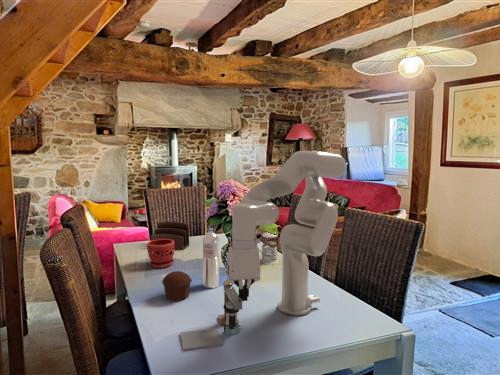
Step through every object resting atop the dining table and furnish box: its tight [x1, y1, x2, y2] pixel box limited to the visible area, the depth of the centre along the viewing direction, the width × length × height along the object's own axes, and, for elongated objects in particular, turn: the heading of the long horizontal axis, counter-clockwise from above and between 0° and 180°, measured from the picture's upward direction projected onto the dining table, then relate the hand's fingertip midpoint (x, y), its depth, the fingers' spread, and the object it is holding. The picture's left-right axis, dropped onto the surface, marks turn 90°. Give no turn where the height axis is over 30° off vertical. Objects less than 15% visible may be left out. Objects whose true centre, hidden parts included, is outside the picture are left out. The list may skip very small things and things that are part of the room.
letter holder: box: [150, 221, 190, 251], centre depth 222 cm, size 10×20×14 cm, turn 78°
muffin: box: [162, 270, 193, 302], centre depth 152 cm, size 12×11×10 cm
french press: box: [258, 231, 280, 265], centre depth 196 cm, size 10×12×25 cm
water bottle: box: [202, 227, 220, 289], centre depth 163 cm, size 7×7×25 cm
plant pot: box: [146, 239, 175, 269], centre depth 190 cm, size 13×13×12 cm
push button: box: [223, 301, 244, 336], centre depth 125 cm, size 7×5×10 cm
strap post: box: [217, 291, 240, 327], centre depth 133 cm, size 6×6×10 cm
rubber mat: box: [179, 327, 224, 352], centre depth 121 cm, size 12×10×1 cm
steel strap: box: [222, 279, 243, 311], centre depth 125 cm, size 3×17×3 cm, turn 15°
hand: (243, 299), depth 122 cm, fingers closed
